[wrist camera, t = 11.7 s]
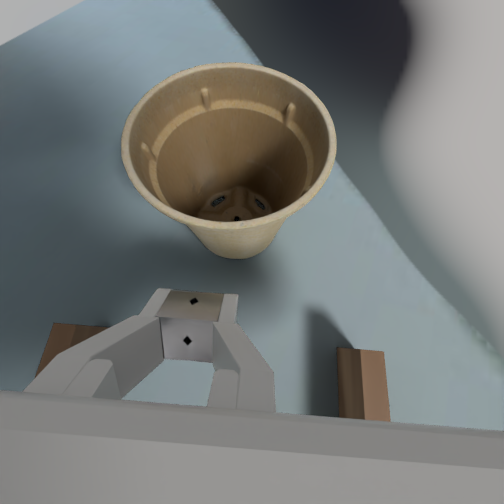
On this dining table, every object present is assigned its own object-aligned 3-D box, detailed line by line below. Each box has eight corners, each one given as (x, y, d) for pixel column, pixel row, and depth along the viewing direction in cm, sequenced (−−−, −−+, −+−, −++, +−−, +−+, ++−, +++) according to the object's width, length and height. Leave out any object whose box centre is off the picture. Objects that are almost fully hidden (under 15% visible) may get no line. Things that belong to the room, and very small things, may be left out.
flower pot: (213, 156, 21) (191, 39, 13) (315, 197, 20) (363, 97, 11) (152, 247, 18) (72, 171, 10) (268, 303, 17) (288, 269, 9)
